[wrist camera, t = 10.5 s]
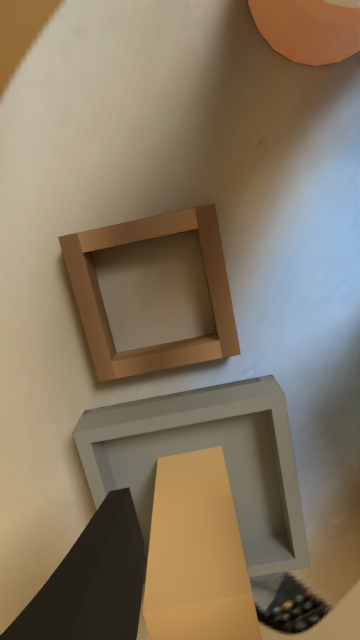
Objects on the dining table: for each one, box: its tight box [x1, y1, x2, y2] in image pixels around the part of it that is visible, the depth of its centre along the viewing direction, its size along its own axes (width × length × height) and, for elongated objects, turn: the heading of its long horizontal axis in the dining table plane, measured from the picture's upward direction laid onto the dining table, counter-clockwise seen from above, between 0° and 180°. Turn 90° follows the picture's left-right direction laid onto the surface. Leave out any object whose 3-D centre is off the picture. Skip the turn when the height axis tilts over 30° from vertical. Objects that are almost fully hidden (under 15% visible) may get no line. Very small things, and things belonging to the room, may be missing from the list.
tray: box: [73, 375, 310, 595], centre depth 21 cm, size 12×12×2 cm
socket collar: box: [58, 204, 241, 382], centre depth 19 cm, size 8×8×2 cm
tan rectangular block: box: [143, 446, 262, 640], centre depth 17 cm, size 4×4×9 cm
